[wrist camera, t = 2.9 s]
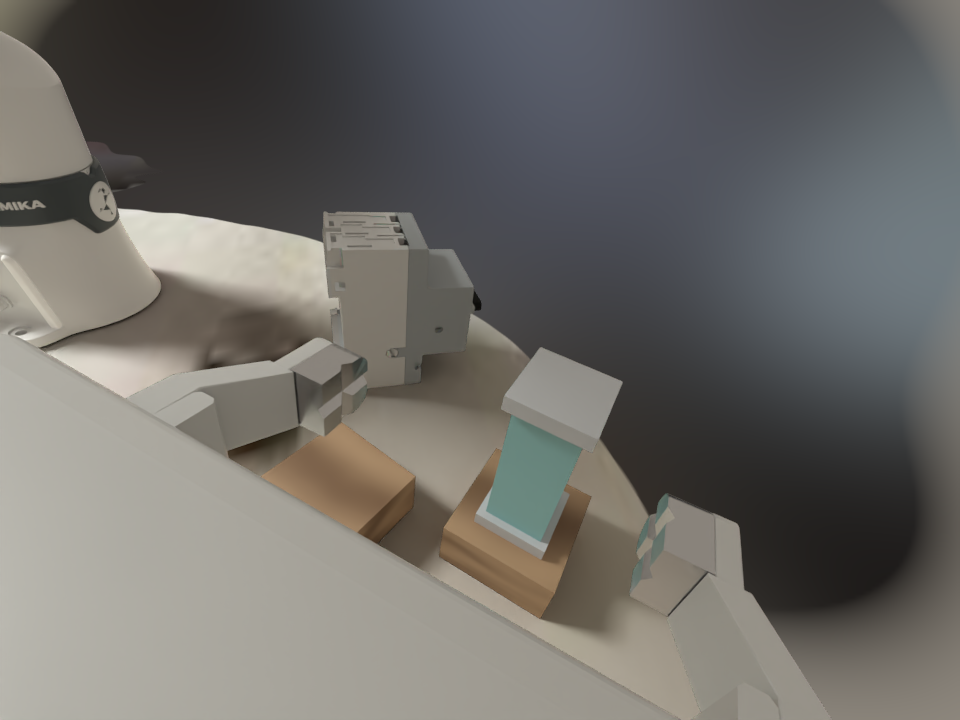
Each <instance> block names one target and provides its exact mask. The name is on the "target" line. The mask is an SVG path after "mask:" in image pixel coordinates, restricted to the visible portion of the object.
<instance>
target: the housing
mask: <svg viewBox="0 0 960 720" xmlns="http://www.w3.org/2000/svg"><path fill="white" fill-rule="evenodd" d="M621 385H622V381H620V380H618V379H615V378H613V377H610V376H608V375H606V374H603V373H601V372H598V371H596V370H594V369H591V368H589V367H587V366H584V365H582V364H580V363H577V362H575V361H572V360H570V359H568V358H565V357H563V356H561V355H558V354H556V353H553V352H551V351H548V350H546V349H544V348H541V347H540V348H539V350H538V351H537V353H536V354H535V355H534V356H533V358H532V359H531V360H530V362H529V363H528V364H527V366H526V367H525V368H524V370H523V371H522V372H521V374H520V375H519V376H518V378H517V379H516V380H515V382H514V383H513V384H512V386H511V387H510V388H509V390H508V391H507V392H506V394H505V395H504V398H503V402H502V406H501V410H503V411H505V412H507V413H509V414H511V419H510V422H509V426H508V430H507V434H506V437H505V441H504V445H503V449H502V452H501V456H500V460H499V464H498V467H497V471H496V475H495V479H494V483H493V486H492V488H491V490H490V491H489V493H488V494H487V496H486V498H485V499H484V501H483V503H482V504H481V506H480V507H479V509H478V511H477V512H476V515H475V519H474V522H476V523H478V524H480V525H481V526H483V527H485V528H486V529H488V530H490V531H492V532H493V533H495V534H497V535H499V536H500V537H502V538H504V539H506V540H507V541H509V542H511V543H513V544H514V545H516V546H518V547H519V548H521V549H523V550H525V551H526V552H528V553H530V554H532V555H533V556H535V557H537V558H539V559H540V560H541V559H542V557H543V555H544V553H545V551H546V548H547V546H548V544H549V541H550V539H551V537H552V534H553V532H554V530H555V528H556V525H557V523H558V521H559V518H560V516H561V514H562V511H563V509H564V507H565V504H566V502H567V500H568V497H569V495H570V494H568V493H566V492H565V491H564V488H565V486H566V484H567V482H568V480H569V477H570V475H571V473H572V471H573V468H574V466H575V464H576V462H577V460H578V457H579V455H580V453H581V451H582V449H584V450H586V451H588V452H591V453H592V452H593V450H594V448H595V446H596V444H597V442H598V440H599V437H600V435H601V433H602V430H603V428H604V425H605V423H606V421H607V418H608V416H609V414H610V411H611V409H612V406H613V404H614V402H615V399H616V397H617V394H618V392H619V390H620V387H621Z"/></svg>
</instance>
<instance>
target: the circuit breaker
mask: <svg viewBox="0 0 960 720" xmlns="http://www.w3.org/2000/svg"><path fill="white" fill-rule="evenodd" d="M323 217H324V220H323V243H324V254H325V265H326V276H327V285H328V295H329V298H339V309H340V310H338V309H337V308H335V309H332V310H330V313H331V323H332V334H333V343H334V344H337V345H339V346H341V347H343V348H345V349H348V350H350V351H352V352H354V353H356V354H358V355H360V356H362V357H364V358H365V359H366V360H367V362H368V371H367V372H365V373H364V374H363V376H364V378H365V380H366V382H367V389H368V388H377V387H386V386H395V385H404V384H413V383H420V382H421V364H422V356H423V355H428V354H439V353H449V352H460V351H465V348H466V342H467V335H468V328H469V321H470V314H473V313H474V311H476V310H481V301H480V299H479V298H478V296H477V294H476V293H475V291H474V286H473V284H472V283H471V281H470V279H469V278H468V275H467V274H466V272H465V270H464V268H463V267H462V265H461V263H460V261H459V259H458V258H457V256H456V254H455V252H454V250H453V249H428V247H427V245H426V243H425V241H424V238H423V236H422V235H421V232H420V230H419V228H418V226H417V223H416V221H415V219H414V217H413V215H412V214H411V213H385V212H384V213H383V212H380V213H379V212H336V213H333V214H332V213H331V214H330V213H327V212H324V214H323Z"/></svg>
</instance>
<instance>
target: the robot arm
mask: <svg viewBox="0 0 960 720" xmlns="http://www.w3.org/2000/svg"><path fill="white" fill-rule="evenodd" d="M160 290H161V282H160V280H159V278H158V277H157V276H156V275H155V274H154V273H153V271H152V270H151V269H150V268H149V266H148V265H147V264H146V262H145V261H144V259H143V258H142V257H141V255H140V254H139V252H138V250H137V249H136V247H135V246H134V244H133V242H132V241H131V239H130V237H129V235H128V234H127V232H126V230H125V228H124V226H123V225H122V223H121V221H120V219H119V213H118V209H117V206H116V202H115V199H114V197H113V194H112V191H111V189H110V186H109V184H108V181H107V179H106V177H105V174H104V172H103V170H102V168H101V165H100V163H99V161H98V160H97V158H95V157H94V156H92V155H91V154H90V152H89V150H88V147H87V145H86V142H85V140H84V137H83V135H82V132H81V130H80V128H79V125H78V123H77V120H76V118H75V115H74V113H73V110H72V108H71V105H70V103H69V101H68V98H67V96H66V93H65V91H64V88H63V86H62V83H61V81H60V79H59V77H58V76H57V74H56V73H55V72H54V70H53V69H52V68H51V67H50V66H49V65H48V63H47V62H46V61H45V60H44V59H42V58H41V57H40V56H39V55H38V54H37V53H36V52H34V51H33V50H32V49H30V48H29V47H27V46H26V45H24V44H23V43H21V42H20V41H18V40H16V39H14V38H12V37H10V36H9V35H7V34H5V33H3V32H1V31H0V720H681V719H679V718H677V717H676V716H674V715H672V714H671V713H669V712H667V711H665V710H664V709H662V708H660V707H658V706H657V705H655V704H653V703H651V702H650V701H648V700H646V699H645V698H643V697H641V696H639V695H638V694H636V693H634V692H632V691H631V690H629V689H627V688H626V687H624V686H622V685H620V684H619V683H617V682H615V681H613V680H612V679H610V678H608V677H606V676H605V675H603V674H601V673H600V672H598V671H596V670H594V669H593V668H591V667H589V666H587V665H586V664H584V663H582V662H581V661H579V660H577V659H575V658H574V657H572V656H570V655H568V654H567V653H565V652H563V651H561V650H560V649H558V648H556V647H555V646H553V645H551V644H549V643H548V642H546V641H544V640H542V639H541V638H539V637H537V636H535V635H534V634H532V633H530V632H529V631H527V630H525V629H523V628H522V627H520V626H518V625H516V624H515V623H513V622H511V621H509V620H508V619H506V618H504V617H503V616H501V615H499V614H497V613H496V612H494V611H492V610H490V609H489V608H487V607H485V606H483V605H482V604H480V603H478V602H476V601H475V600H473V599H471V598H470V597H468V596H466V595H464V594H463V593H461V592H459V591H457V590H456V589H454V588H452V587H450V586H449V585H447V584H445V583H444V582H442V581H440V580H438V579H437V578H435V577H433V576H431V575H430V574H428V573H426V572H424V571H423V570H421V569H419V568H418V567H416V566H414V565H412V564H411V563H409V562H407V561H405V560H404V559H402V558H400V557H398V556H397V555H395V554H393V553H392V552H390V551H388V550H386V549H385V548H383V547H381V546H379V545H378V544H376V543H374V542H373V541H371V540H369V539H367V538H366V537H364V536H362V535H360V534H359V533H357V532H355V531H354V530H352V529H350V528H348V527H347V526H345V525H343V524H341V523H340V522H338V521H336V520H334V519H333V518H331V517H329V516H328V515H326V514H324V513H322V512H321V511H319V510H317V509H315V508H314V507H312V506H310V505H309V504H307V503H305V502H303V501H302V500H300V499H298V498H296V497H295V496H293V495H291V494H289V493H288V492H286V491H284V490H283V489H281V488H279V487H277V486H276V485H274V484H272V483H270V482H269V481H267V480H265V479H264V478H262V477H260V476H258V475H257V474H255V473H253V472H251V471H250V470H248V469H246V468H244V467H243V466H241V465H239V464H238V463H236V462H234V461H232V460H231V459H229V457H228V453H227V451H228V450H230V449H233V448H236V447H239V446H242V445H245V444H248V443H251V442H254V441H257V440H260V439H263V438H266V437H269V436H272V435H275V434H278V433H281V432H283V431H286V430H289V429H292V428H295V427H298V426H299V425H300V426H303V427H305V428H307V429H309V430H311V431H313V432H315V433H317V434H319V435H321V436H323V437H325V436H326V435H328V434H329V433H330V432H331V431H332V430H333V429H335V428H336V427H337V426H338V425H339V424H340V423H341V422H342V416H343V415H347V414H351V413H353V412H354V411H355V410H356V409H357V408H359V406H360V405H361V403H362V402H363V400H364V398H365V396H366V392H367V382H366V380H365V378H364V376H363V374H364V373H365V372H367V371H368V362H367V360H366V359H365V358H364V357H362V356H360V355H358V354H356V353H354V352H352V351H350V350H348V349H345V348H343V347H341V346H339V345H337V344H334V343H332V342H330V341H328V340H326V339H324V338H322V337H320V338H314V339H313V340H311V341H309V342H308V343H306V344H304V345H303V346H301V347H299V348H297V349H296V350H294V351H292V352H291V353H289V354H287V355H286V356H284V357H282V358H280V359H279V360H277V361H275V362H272V361H262V362H255V363H248V364H241V365H234V366H227V367H221V368H214V369H207V370H200V371H193V372H186V373H179V374H173V375H171V376H169V377H167V378H165V379H163V380H161V381H159V382H157V383H155V384H153V385H151V386H149V387H147V388H145V389H143V390H141V391H139V392H137V393H135V394H133V395H131V396H129V397H127V398H123V397H122V396H120V395H118V394H117V393H115V392H113V391H111V390H110V389H108V388H106V387H104V386H103V385H101V384H99V383H97V382H96V381H94V380H92V379H91V378H89V377H87V376H85V375H84V374H82V373H80V372H78V371H77V370H75V369H73V368H71V367H70V366H68V365H66V364H65V363H63V362H61V361H59V360H58V359H56V358H54V357H52V356H51V355H49V354H47V353H46V352H44V351H42V350H41V349H39V347H43V346H46V345H48V344H51V343H53V342H56V341H58V340H60V339H63V338H65V337H67V336H69V335H72V334H75V333H78V332H82V331H86V330H90V329H94V328H98V327H101V326H105V325H108V324H111V323H114V322H117V321H119V320H122V319H124V318H127V317H129V316H131V315H133V314H135V313H137V312H139V311H140V310H142V309H143V308H145V307H146V306H148V305H149V304H150V303H151V302H152V301H153V300H154V299H155V298H156V297H157V296H158V294H159V292H160ZM636 554H637V556H638V558H639V560H640V561H639V562H638V563H637V565H636V566H635V568H634V569H633V574H632V581H631V587H630V593H629V596H630V597H632V598H634V599H636V600H638V601H639V602H641V603H643V604H645V605H647V606H649V607H650V608H652V609H654V610H656V611H658V612H659V613H661V614H663V615H665V616H667V617H668V618H667V621H668V624H669V626H670V629H671V632H672V635H673V637H674V640H675V643H676V646H677V648H678V651H679V654H680V657H681V659H682V662H683V665H684V668H685V670H686V673H687V676H688V679H689V682H690V684H691V687H692V690H693V693H694V695H695V698H696V701H697V704H698V706H699V709H700V712H701V713H699V714H698V715H696V716H695V717H694V718H692V719H691V720H832V719H831V717H830V716H829V714H828V713H827V711H826V709H825V708H824V706H823V705H822V703H821V702H820V700H819V698H818V697H817V695H816V694H815V692H814V691H813V689H812V688H811V686H810V684H809V683H808V681H807V680H806V678H805V676H804V675H803V673H802V672H801V671H800V669H799V667H798V666H797V664H796V662H795V661H794V659H793V658H792V656H791V655H790V653H789V652H788V650H787V649H786V647H785V645H784V644H783V642H782V640H781V639H780V637H779V636H778V634H777V633H776V631H775V629H774V628H773V626H772V625H771V623H770V622H769V620H768V619H767V617H766V615H765V614H764V612H763V611H762V609H761V608H760V606H759V605H758V603H757V601H756V600H755V598H754V597H753V595H752V594H751V593H749V592H747V591H745V590H744V582H743V581H744V580H743V567H742V555H741V541H740V528H739V526H738V525H737V523H735V522H732V521H730V520H728V519H725V518H723V517H721V516H719V515H716V514H714V513H711V512H709V511H706V510H704V509H702V508H700V507H697V506H695V505H693V504H690V503H688V502H686V501H684V500H681V499H679V498H677V497H675V496H672V495H670V494H667V493H666V494H665V495H664V496H663V497H662V498H661V500H660V501H659V503H658V507H657V513H656V514H653V515H650V516H649V518H648V520H647V521H646V523H645V525H644V527H643V529H642V532H641V534H640V537H639V541H638V545H637V550H636Z"/></svg>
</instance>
